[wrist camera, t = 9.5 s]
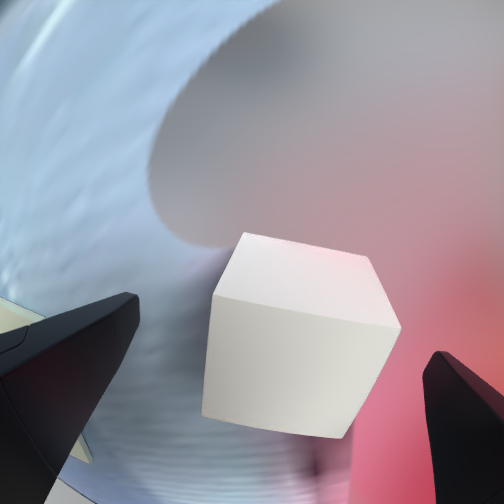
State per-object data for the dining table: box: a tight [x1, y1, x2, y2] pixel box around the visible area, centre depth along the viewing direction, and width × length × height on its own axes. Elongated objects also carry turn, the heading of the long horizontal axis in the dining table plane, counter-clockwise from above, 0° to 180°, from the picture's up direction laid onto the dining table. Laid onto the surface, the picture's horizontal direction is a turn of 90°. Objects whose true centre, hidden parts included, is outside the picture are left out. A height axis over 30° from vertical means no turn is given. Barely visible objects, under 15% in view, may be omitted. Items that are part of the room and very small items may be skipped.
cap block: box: [201, 232, 401, 439], centre depth 9 cm, size 4×4×4 cm
